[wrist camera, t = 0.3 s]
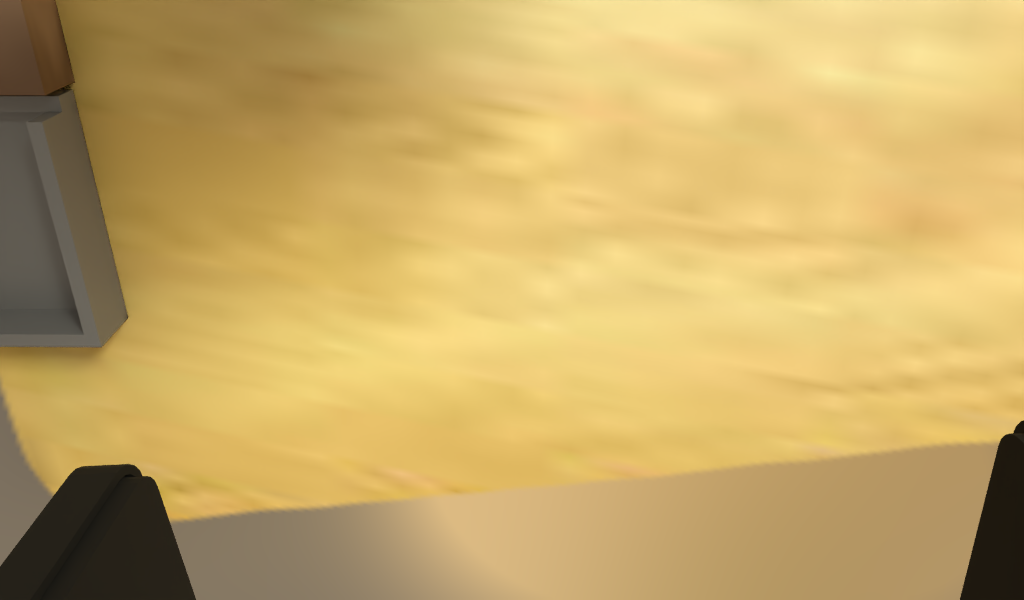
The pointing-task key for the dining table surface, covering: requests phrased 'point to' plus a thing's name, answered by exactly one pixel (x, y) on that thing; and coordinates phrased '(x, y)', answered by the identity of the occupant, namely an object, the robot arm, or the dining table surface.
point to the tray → (52, 230)
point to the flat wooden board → (32, 48)
